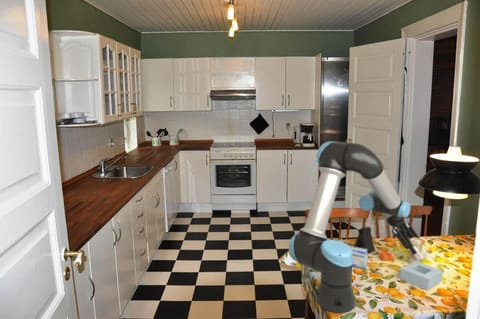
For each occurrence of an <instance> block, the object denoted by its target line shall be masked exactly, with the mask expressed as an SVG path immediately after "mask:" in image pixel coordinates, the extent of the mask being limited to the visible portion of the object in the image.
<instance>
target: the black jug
mask: <svg viewBox="0 0 480 319" xmlns="http://www.w3.org/2000/svg"><path fill="white" fill-rule="evenodd" d="M371 232H372V228H371V227H370V226H365V227H361V228H359V229H358V234H357V238H356V240H355V242H354V245H353V247H358V248H364V249H368V251H367V255H369V254H371V253H373V252H375V251H376V249H375V244H374V241H373V236H372V233H371Z"/></svg>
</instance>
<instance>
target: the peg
mask: <svg viewBox="0 0 480 319" xmlns="http://www.w3.org/2000/svg"><path fill="white" fill-rule="evenodd" d="M409 240H410V241H411V243H412V245H413V246H415V247H416V249H417V250H418V251H419V253H420V254H421V255H422V247H423V248H424V246H423V244H424V239H423V238H420V237H419V238H417V237H413V238H411V239H409ZM408 254H409V255H408V256H409V257H408V264H410V263H412V262H414V261H417V262H420V263H422V260H423V259H422V260H420V261H418V260H417V259H416V257H415V256H414V254H413V253H412V252H411V251H410V250H409V252H408Z"/></svg>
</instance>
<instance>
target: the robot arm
mask: <svg viewBox="0 0 480 319" xmlns="http://www.w3.org/2000/svg"><path fill="white" fill-rule="evenodd" d="M316 162H317V165H318V170H319V172H320V175H319V178H318V180H317V181H318V182H317V185H316V188H315V192H314V195H313V198H312V201H311V205H310V208H309V211H308V214H307V217H306V221H305V223H304V226H303V227H302V228H301V227H300V229H299V232H298V233H295V234H294V235H293V236H292V237H291V238H290V242H289V244H288V251H289V254H290V257H291V259H292V260H293V261H295V262H297V263H298V264H300V265H302V266H304V267H308V268H309V269H311V270H314V271H317V272H319V273H320V282H319V285H318V288H317V290H316V293H315V301H316V304H317V305H318V306H319V307H320V308H322V309H324V310H326V311H328V312H332V313H336V314H337V313H342V314H344V313H349V312H351V311H353V310H354V309H355V308H356V304H357V302H356V300H357V298H356V295H355V292H354V289H353V286H352V285H353V284H352V283H353V281H352V280H353V267H352V263H353V257H352V251H351V248H350V246H349V245H348V244H346V243H344V242H342V241H339V240H333V239H328V237H327V235H326V232H327V231H326V230H327V227H328V224H329V220H330V217H331V213H332V211H333V207H334V204H335V200H336V197H337V194H338V191H339V190H338V189H339V187H340V183H341V180H342V179H343V178H344V177H346V176H347V173H348V172H354V173H357V174H359V175H360V176H361V177H362V178H363V179H365V180H366V181H367V182H368V184H369V185H370V186H371V188H372V190H371V191H369V192H368V194H365V195H363V196H361V197H360V198H359V200H358V204H359V208H360V209H361V210H362V211H365V212H370V211H372V212H373V211H374V212H378V213H381V215H382V217H383V218H384V219H385V220H386V222H387V223H388V225H389V226H391V227H393V230H391V233H393V235H395V237H396V238H397V239H398V241H399V242H400V243H401V245H402V247H403V248H404V249H406V250H409V252H410V251H411V252H412V253H413V254H414V256H415V257H416V259H417V260H418V261H420V260H423V259H425V258H427V257H428V256H429V254H428V253H427V251H426V250H425V248H424V246H423V247H422V255H421V254H420V253H419V251H418V250H417V249H416V247H415V246H413V245H412V243H411V241H410V239H411V238H413V237H417V238H420V236H419V235H418V233H417V232H416V231H415V229H414V227H413V226H412V224H411V223H410V222H408V223H406V222H405V221H404V219H405V218H407V217H409V215H410V213H411V204H410V202H408V201H405V200H401V198H400V195H399V194H398V193H397V191H396V190H395V187H394V186H393V185H392V183H391V181H390V179H389V177H388V176H387V174H386V173H385V171H384V169H385V167H384V163H383V162H382V161H381V160H380V158H379V156H377V155H376V153H374V152H373V151H372V150H371V149H370V148H368V147H367V146H365V145H363V144H360V143H356V142H354V143H353V142H352V143H351V142H346V141H345V142H344V141H336V140H334V141H333V140H332V141H326V142H324V143H322V144H321V145H320V146H319V149H318V150H317V152H316ZM352 309H353V310H352ZM350 310H351V311H350Z"/></svg>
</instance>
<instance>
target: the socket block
mask: <svg viewBox="0 0 480 319" xmlns="http://www.w3.org/2000/svg"><path fill="white" fill-rule="evenodd" d="M443 272H444V271H443V269H442V270H441V269H439V268H437V267H434V266H431V265H428V264H426V263H423V262H421V263H420V262H417V261H414V262H412V263H408V264H406V265H405V266H403V267H401V268H400V273H399V275H400V276H399V279H400V280H401V281H404V282H406V283H408V284H411V285H413V286H416V287H417V288H420V289H423V290H426V291H430V290H431V289H433V288H434V287H436V286H437V285H439V284H440V283H442V282H443Z"/></svg>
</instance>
